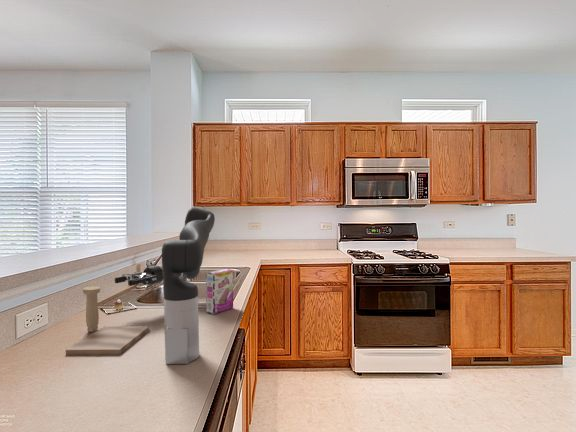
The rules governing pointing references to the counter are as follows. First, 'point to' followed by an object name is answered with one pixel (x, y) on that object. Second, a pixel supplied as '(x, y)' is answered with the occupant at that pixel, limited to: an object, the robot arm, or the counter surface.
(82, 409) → the counter surface
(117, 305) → the dessert
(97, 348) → the walnut board
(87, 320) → the handle
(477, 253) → the counter surface
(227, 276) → the candy bar box
